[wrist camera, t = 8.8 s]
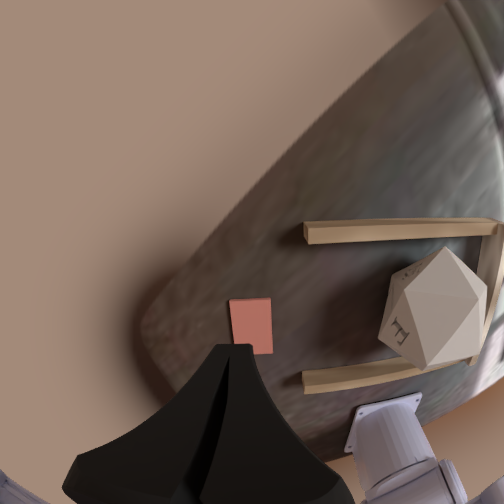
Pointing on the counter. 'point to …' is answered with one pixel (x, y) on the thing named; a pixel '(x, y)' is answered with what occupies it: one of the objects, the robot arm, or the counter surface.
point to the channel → (491, 253)
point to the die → (435, 311)
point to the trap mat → (252, 323)
